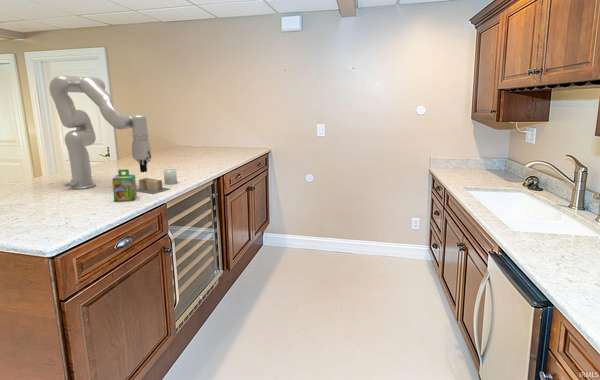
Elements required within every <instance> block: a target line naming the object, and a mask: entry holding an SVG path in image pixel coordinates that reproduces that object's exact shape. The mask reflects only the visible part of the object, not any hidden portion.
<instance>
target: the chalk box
mask: <svg viewBox="0 0 600 380" xmlns="http://www.w3.org/2000/svg"><path fill="white" fill-rule="evenodd" d="M117 172H118V174H117V175H115V176H113V178H112V179H111V180H112V188H113V189H112V190H113V201H114V202H129V201H130V202H133V201H135V200H136V198H137V191H136V190H137V185H136V182H137V181H136V175H135V174H130V171H129V169H118V170H117ZM123 172H124V174H122V173H123Z"/></svg>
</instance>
